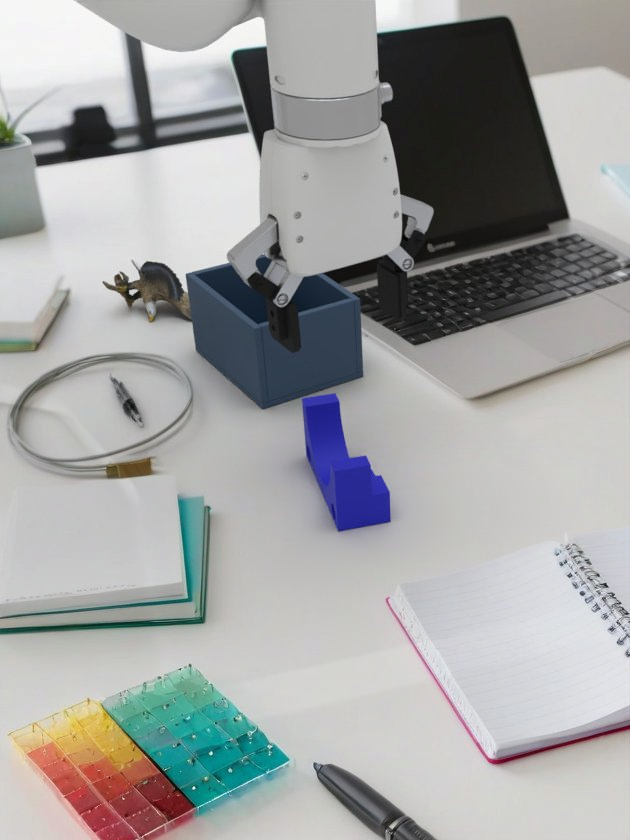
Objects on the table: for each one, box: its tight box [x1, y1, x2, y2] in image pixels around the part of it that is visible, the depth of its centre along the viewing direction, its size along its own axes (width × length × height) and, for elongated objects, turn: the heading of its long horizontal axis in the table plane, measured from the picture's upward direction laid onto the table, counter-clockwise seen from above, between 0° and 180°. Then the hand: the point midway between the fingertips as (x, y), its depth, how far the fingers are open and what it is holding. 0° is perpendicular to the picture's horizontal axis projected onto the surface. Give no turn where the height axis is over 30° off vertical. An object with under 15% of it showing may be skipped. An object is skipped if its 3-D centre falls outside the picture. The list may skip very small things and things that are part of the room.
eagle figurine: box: [102, 259, 192, 323], centre depth 125 cm, size 8×7×9 cm
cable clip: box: [301, 392, 391, 532], centre depth 99 cm, size 12×4×6 cm, turn 21°
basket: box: [185, 253, 364, 410], centre depth 116 cm, size 11×14×9 cm
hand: (341, 328), depth 92 cm, fingers open, 9 cm apart
